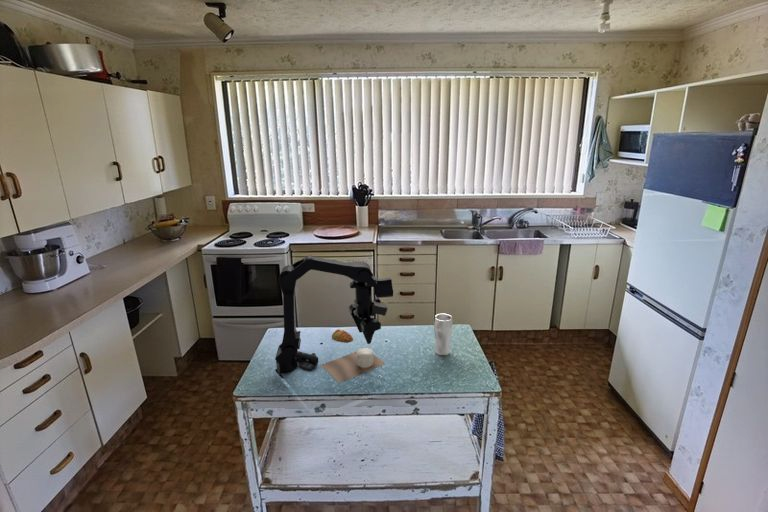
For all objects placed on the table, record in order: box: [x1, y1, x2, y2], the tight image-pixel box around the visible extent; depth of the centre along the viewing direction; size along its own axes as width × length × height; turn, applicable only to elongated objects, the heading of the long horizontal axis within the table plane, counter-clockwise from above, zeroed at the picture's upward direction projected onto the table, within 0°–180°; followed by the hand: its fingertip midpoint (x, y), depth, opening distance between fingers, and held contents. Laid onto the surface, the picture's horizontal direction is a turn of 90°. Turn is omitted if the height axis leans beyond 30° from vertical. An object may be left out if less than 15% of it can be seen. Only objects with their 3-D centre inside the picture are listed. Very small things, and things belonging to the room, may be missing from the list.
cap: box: [357, 347, 374, 368], centre depth 144 cm, size 6×6×4 cm
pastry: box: [331, 329, 354, 343], centre depth 164 cm, size 9×7×4 cm
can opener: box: [295, 350, 319, 372], centre depth 147 cm, size 18×7×6 cm, turn 57°
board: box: [320, 350, 387, 384], centre depth 145 cm, size 20×14×1 cm
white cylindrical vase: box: [433, 313, 453, 357], centre depth 152 cm, size 7×7×15 cm
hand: (364, 337), depth 142 cm, fingers open, 9 cm apart
